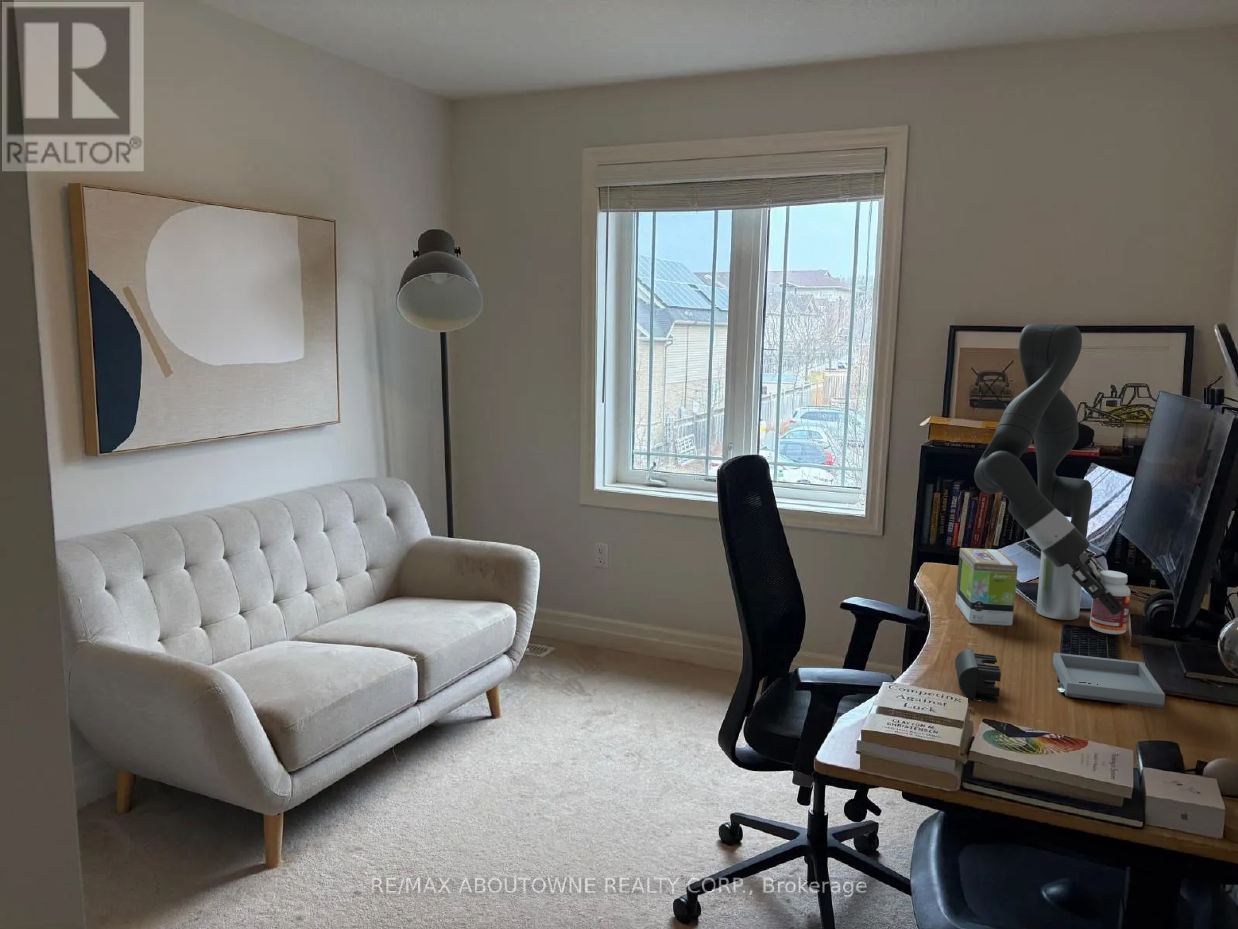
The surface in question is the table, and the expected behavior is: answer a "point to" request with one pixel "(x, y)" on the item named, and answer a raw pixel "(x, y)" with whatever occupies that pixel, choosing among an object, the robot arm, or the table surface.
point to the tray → (1108, 680)
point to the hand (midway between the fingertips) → (1120, 606)
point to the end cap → (978, 675)
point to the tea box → (986, 586)
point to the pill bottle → (1099, 612)
